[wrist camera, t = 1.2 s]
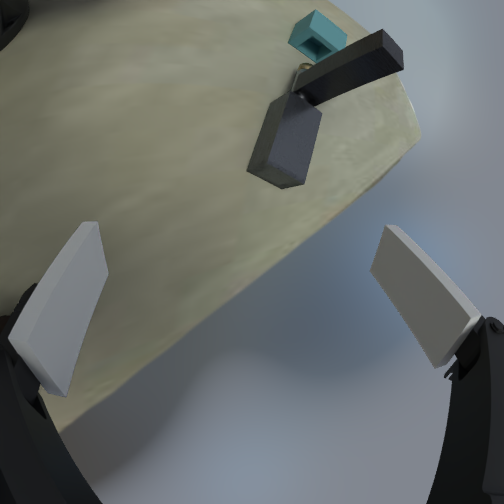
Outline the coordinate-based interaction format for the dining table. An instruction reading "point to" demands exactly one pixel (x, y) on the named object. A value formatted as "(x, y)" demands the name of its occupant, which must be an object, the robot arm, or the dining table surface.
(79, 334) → the robot arm
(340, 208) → the dining table surface
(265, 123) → the outer sleeve
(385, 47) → the dark lever handle
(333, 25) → the socket block
